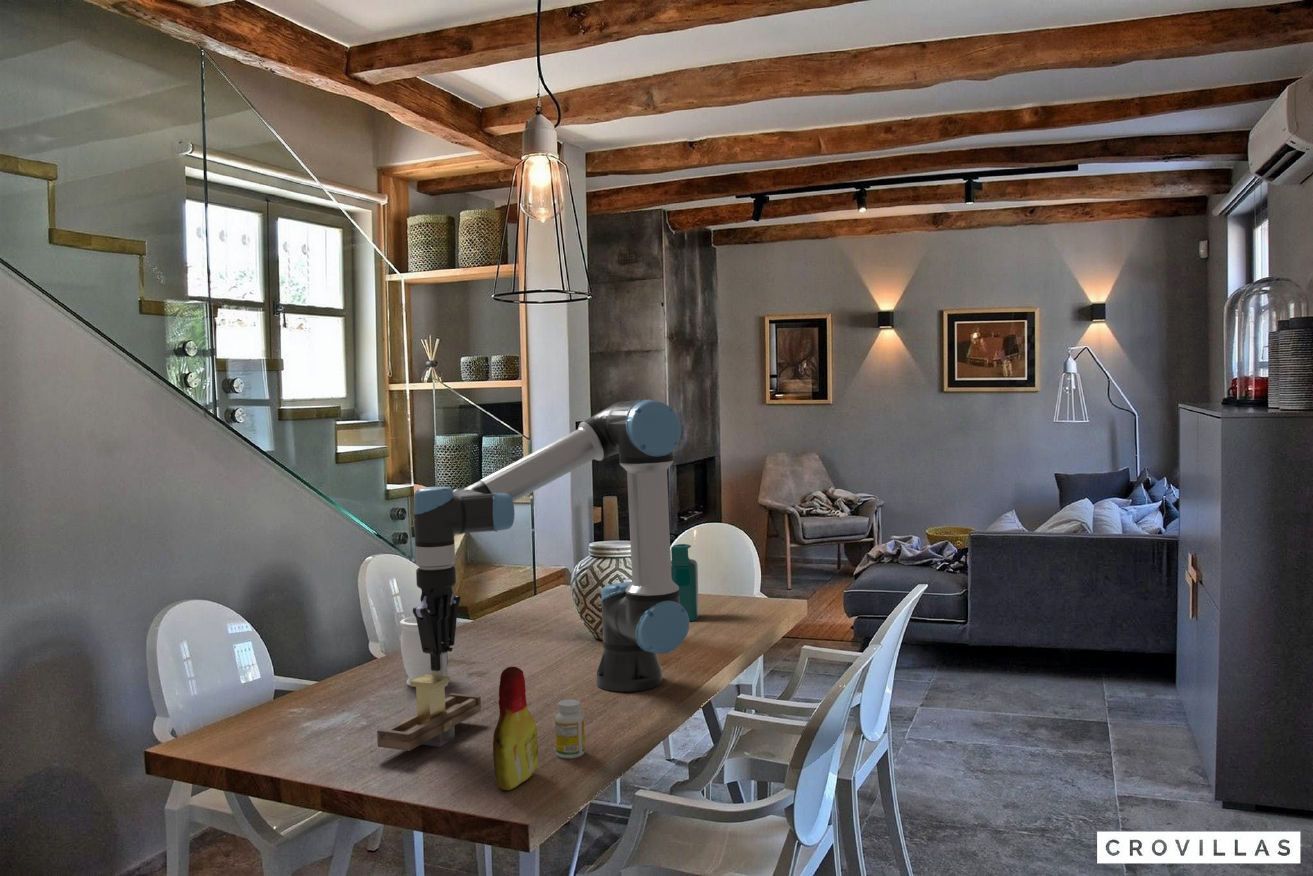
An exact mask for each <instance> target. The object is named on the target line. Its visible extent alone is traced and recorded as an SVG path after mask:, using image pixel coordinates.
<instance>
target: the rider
mask: <svg viewBox="0 0 1313 876" xmlns="http://www.w3.org/2000/svg"><path fill="white" fill-rule="evenodd" d="M450 682H451V677H450V676H449V675H448V676H438V675H428V674H425V675H423V676H421V677H419V678H416V679H414V680H412V681H410V685H409V687H413V688H415V691H416V692H415V693H416V696H415V697H416V714H417V723H422V724H423V723H425V722H427V721H429V720H431V719H433V718H435V717H436V716H438V715H440V714H442V713H444V712H445V699H446V693H445V692H446V690H445V688H446V686H444V684H446V683H448V684H449V683H450Z"/></svg>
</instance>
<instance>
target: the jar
mask: <svg viewBox="0 0 1313 876" xmlns="http://www.w3.org/2000/svg"><path fill="white" fill-rule="evenodd" d="M399 623H400V624H399V625H400V627H401V628H402V631H401V634H400V635H401V637H400V651H401V652H400V653H401V657H402V660H403V661H402V662H403V667H404V671H405V672H406V675H407V676H408V678H407V680H406V684H407V686H410V681H412V680H414V679H416V678H419V677H421V676H423V675H425V674H428V675H432V671H431V660H430V654H428V653H423V651H422V646H421V641H420V636H419V630H418V625H417V620H416V617H415V615H413V616H408V617H406V618H403V619H401V620H400V621H399Z"/></svg>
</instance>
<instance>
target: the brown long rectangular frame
mask: <svg viewBox="0 0 1313 876" xmlns="http://www.w3.org/2000/svg"><path fill="white" fill-rule="evenodd" d="M481 701H482V700H481V696H480V695H471V694H470V695H469V694H461V693H449V694H448V697H447V698H446V697H445V712H444V713H442V714H440V715H438V716H436V717H435V718H433V719H431V720H429V721H427V722H425V723H423V724H422V723H417V713H415V714H413V715H412V716H408V717H407V718H405V719H403V720H402V721H400V722H398V723H395V724H393V725H392V726H389V727H388V728H385V729H384V728H379V729H378V730H376V736H377V737H376V739H377V747H379V748H384V749H385V748H386V749H393V750H399V751H405V752H407V751H408V752H410V751H412V750H413V749H415V748H417V747H419V746H421V745H424V746H430V747H440V748H441V747H443V746H445V745H446V744H447V743H449V742H451V741H453V740H454V739H456V732H455V731H456V729H455V727H456V725H459V724H460V723H462V722H464V721H466V720H467V719H469V718H471V717H472V716H475V715H477V714H478V713H480V712H481V711H482V704H481V703H482V702H481Z"/></svg>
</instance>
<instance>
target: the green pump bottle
mask: <svg viewBox="0 0 1313 876" xmlns="http://www.w3.org/2000/svg"><path fill="white" fill-rule="evenodd" d="M691 547H692V545H691V544H687V543H680V544H679V543H678V544H674V545H672V546H670V554H671V576H672V581H673V582H674V583H675V584H677V585H678V586H679V597H680V604H681V605H682V606H683V607H684V609H685V610H686V612H687V614H688V617H689V622H695V621H697V620H698V618H699V615H700V608H699V604H700V603H699V601H700V600H699V570H698V569H699V568H698V566H699V565H698V562H697V561H696V560H695V559H692V558H690V557H689V549H690V548H691Z"/></svg>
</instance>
